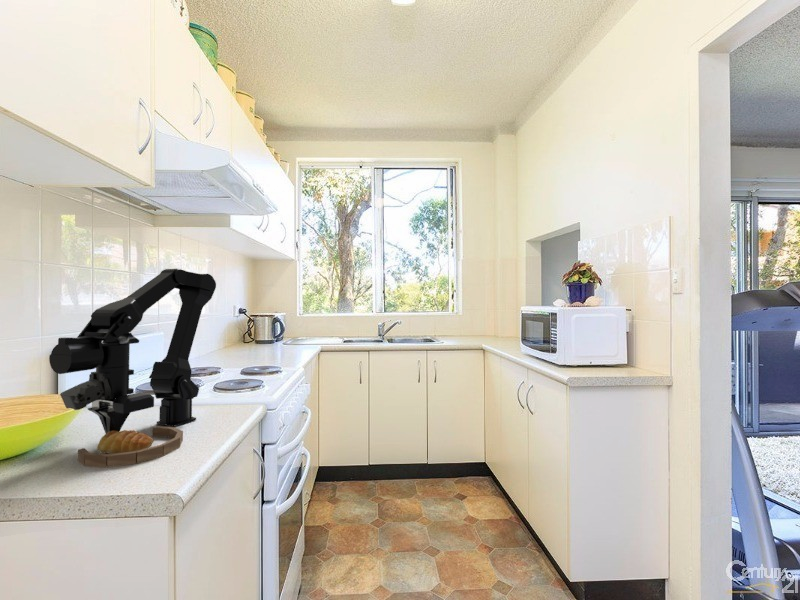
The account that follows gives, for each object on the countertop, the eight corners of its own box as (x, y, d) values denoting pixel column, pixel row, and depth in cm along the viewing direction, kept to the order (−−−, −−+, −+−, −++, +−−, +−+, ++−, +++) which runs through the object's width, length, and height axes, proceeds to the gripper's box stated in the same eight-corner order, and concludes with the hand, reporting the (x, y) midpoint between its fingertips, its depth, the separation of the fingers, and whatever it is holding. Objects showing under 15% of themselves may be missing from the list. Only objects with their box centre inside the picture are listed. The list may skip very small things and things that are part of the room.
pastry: (160, 444, 83) (161, 426, 83) (139, 456, 76) (139, 437, 76) (117, 444, 83) (117, 426, 83) (92, 456, 76) (92, 437, 76)
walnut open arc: (160, 433, 89) (160, 424, 89) (202, 441, 84) (202, 432, 84) (70, 462, 73) (70, 451, 73) (115, 473, 68) (115, 462, 68)
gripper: (41, 368, 79) (40, 445, 78) (97, 375, 71) (96, 460, 71) (102, 361, 89) (100, 429, 89) (156, 367, 81) (155, 441, 81)
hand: (111, 439), depth 82 cm, fingers closed
